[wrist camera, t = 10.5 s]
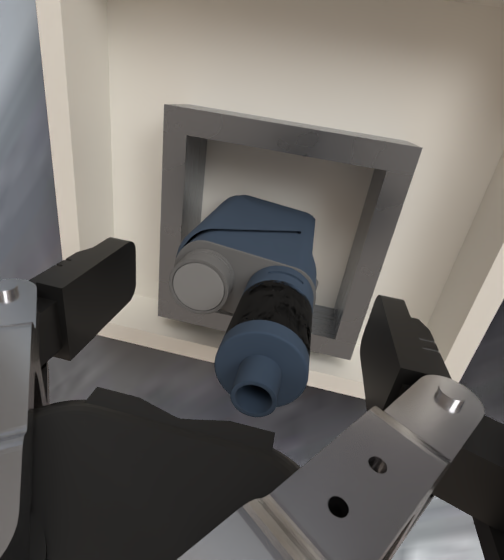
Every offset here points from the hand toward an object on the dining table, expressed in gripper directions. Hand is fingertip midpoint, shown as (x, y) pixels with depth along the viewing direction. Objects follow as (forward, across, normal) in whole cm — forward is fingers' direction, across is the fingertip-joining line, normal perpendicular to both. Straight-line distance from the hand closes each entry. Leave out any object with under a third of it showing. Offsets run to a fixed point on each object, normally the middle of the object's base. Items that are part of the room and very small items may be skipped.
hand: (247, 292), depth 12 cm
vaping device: (+8, 0, 0) cm, 8 cm away
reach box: (+8, 0, -2) cm, 9 cm away
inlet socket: (+8, 0, 0) cm, 8 cm away
